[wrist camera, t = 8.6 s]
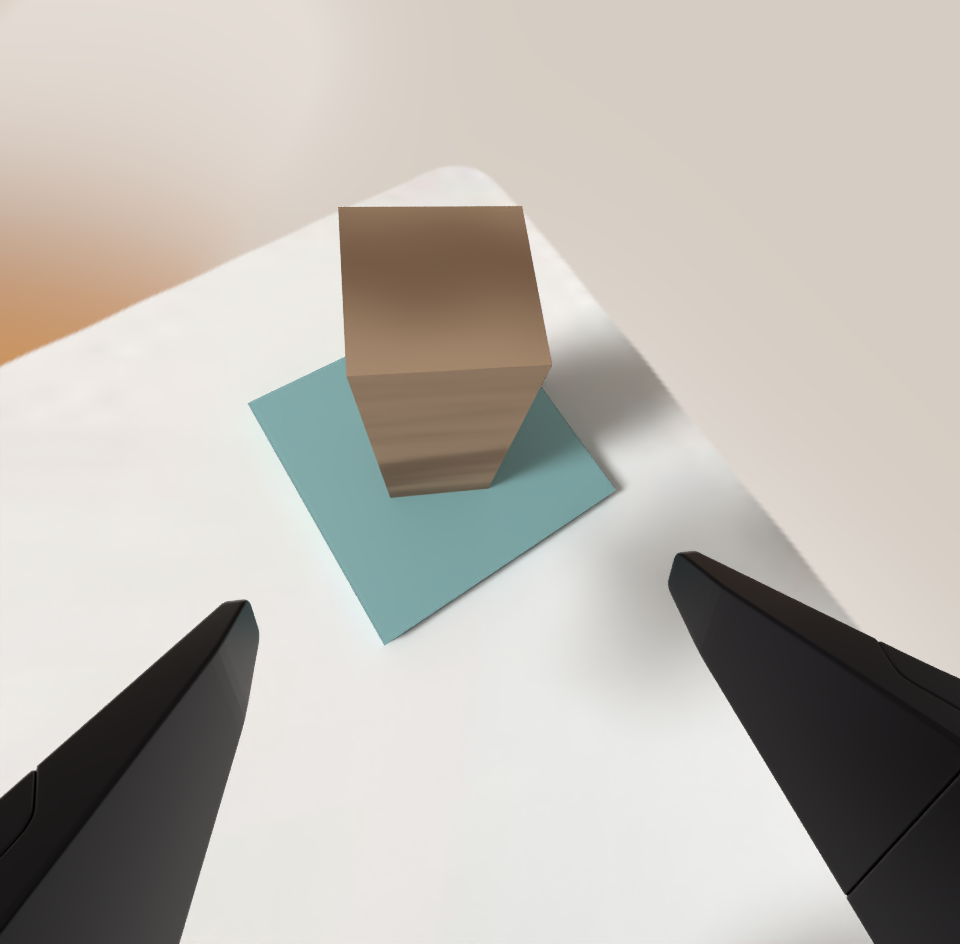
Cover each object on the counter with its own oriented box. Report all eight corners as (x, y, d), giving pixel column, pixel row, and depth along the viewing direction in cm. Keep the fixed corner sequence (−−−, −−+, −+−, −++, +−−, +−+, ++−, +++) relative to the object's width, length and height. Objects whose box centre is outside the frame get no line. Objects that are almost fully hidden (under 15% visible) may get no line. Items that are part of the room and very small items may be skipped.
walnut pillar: (488, 488, 23) (552, 364, 11) (390, 498, 22) (346, 376, 10) (476, 400, 24) (522, 206, 12) (383, 406, 24) (338, 207, 12)
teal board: (608, 494, 25) (615, 490, 24) (386, 643, 21) (384, 645, 20) (472, 305, 27) (474, 294, 26) (254, 411, 24) (247, 403, 23)
